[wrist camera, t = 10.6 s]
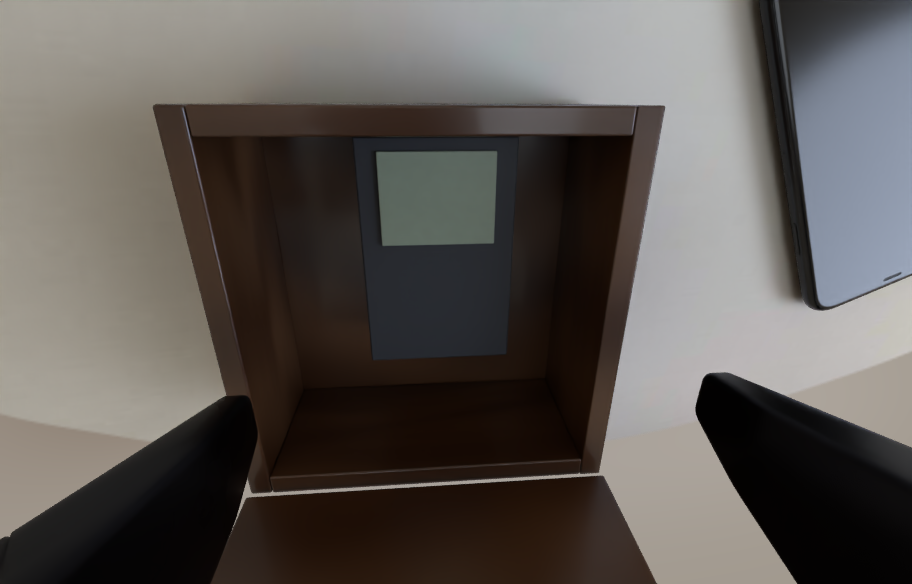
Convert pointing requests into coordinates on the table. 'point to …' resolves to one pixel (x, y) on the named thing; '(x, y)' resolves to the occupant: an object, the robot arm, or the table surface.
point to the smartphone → (844, 140)
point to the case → (344, 294)
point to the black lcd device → (437, 243)
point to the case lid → (437, 536)
